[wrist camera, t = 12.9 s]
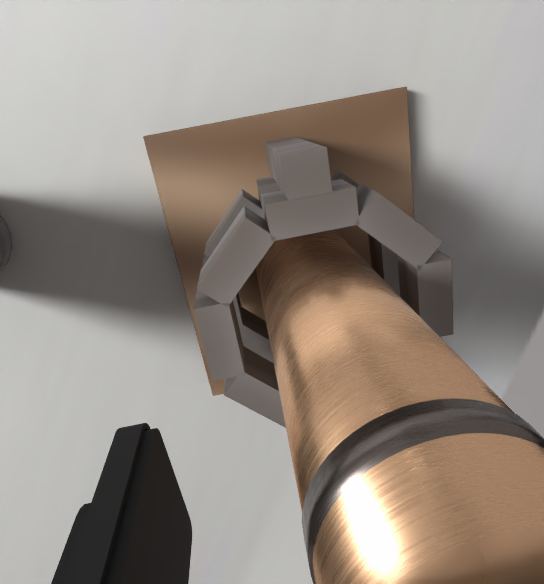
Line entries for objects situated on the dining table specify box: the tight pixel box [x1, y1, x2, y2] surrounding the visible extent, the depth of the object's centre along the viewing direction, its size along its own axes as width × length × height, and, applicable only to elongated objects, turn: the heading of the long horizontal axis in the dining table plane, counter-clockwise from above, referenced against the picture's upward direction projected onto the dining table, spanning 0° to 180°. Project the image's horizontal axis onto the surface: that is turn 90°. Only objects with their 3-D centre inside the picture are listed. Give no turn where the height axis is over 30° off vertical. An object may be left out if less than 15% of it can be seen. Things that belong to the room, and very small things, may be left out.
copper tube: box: [256, 229, 544, 584], centre depth 14 cm, size 5×5×18 cm
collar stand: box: [143, 87, 453, 428], centre depth 20 cm, size 14×12×8 cm
